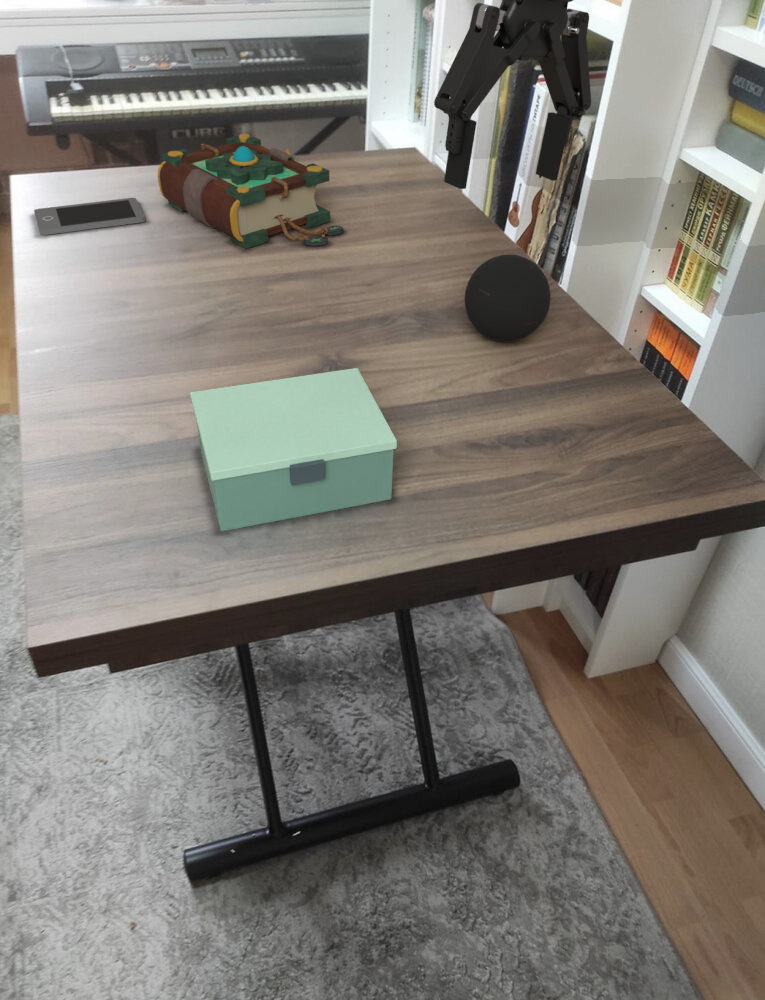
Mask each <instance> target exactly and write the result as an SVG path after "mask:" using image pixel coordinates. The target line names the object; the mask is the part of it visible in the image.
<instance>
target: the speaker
mask: <svg viewBox="0 0 765 1000" xmlns="http://www.w3.org/2000/svg"><path fill="white" fill-rule="evenodd" d="M549 283H550V282H549V281H548V278H547V276H546V274H545V273H544V272H543V270H542V269H541V268H540V267H539V266H538V264H536V263H535V262H534V261H532V260H531V259H528V258H527V257H525V256H521V255H518V254H501V255H496V256H494V257H491V258H489V259H487V260H486V261H484V262H483V263H481V264H480V265H479V266H478V267H477V268H476V269H475V270H474V271H473V273H472V274H471V276H470V277H469V279H468V282H467V284H466V287H465V292H464V308H465V313H466V315H467V317H468V321H470V323H471V325H472V326H473V327H474V329H475V330H476V331H477V332H478V333H480V334H481V335H482V336H484V337H486V338H488V339H490V340H492V341H495V342H501V343H510V342H511V343H512V342H516V341H517V342H518V341H520V340H523V339H525V338H527V337H529V336H530V335H532V334H533V333H535V332H536V331H537V330H538V329H539V328H540V326H541V325H542V324H543V323H544V321H545V320H546V318H547V316H548V313H549V309H550V307H551V298H552V297H551V296H552V295H551V289H550V284H549Z"/></svg>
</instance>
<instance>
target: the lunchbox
mask: <svg viewBox="0 0 765 1000" xmlns="http://www.w3.org/2000/svg"><path fill="white" fill-rule="evenodd" d="M189 397H190V400H191V405H192V409H193V413H194V417H195V421H196V427H197V433H198V441H199V447H200V453H201V457H202V462H203V466H204V471H205V474H206V478H207V482H208V486H209V489H210V493H211V497H212V501H213V506H214V509H215V510H214V511H215V514H216V519H217V522H218V527H219V530H220V532H226V531H232V530H237V529H243V528H247V527H253V526H259V525H263V524H269V523H274V522H278V521H279V522H280V521H284V520H290V519H294V518H300V517H306V516H311V515H316V514H322V513H327V512H332V511H337V510H343V509H348V508H352V507H358V506H359V507H360V506H364V505H369V504H373V503H379V502H385V501H388V500H389V501H391V500H392V497H393V496H392V494H393V493H392V492H393V471H394V452H395V451H394V450H396V449H397V448H398V441H397V440H398V439H397V438H396V436H395V435H394V432H393V431H392V429H391V427H390V426H389V424H388V422H387V420H386V418H385V416H384V414H383V412H382V411H381V409H380V406H379V405H378V403H377V401H376V399H375V397H374V396H373V394H372V392H371V391H370V388H369V386H368V385H367V382H366V380H365V379H364V377H363V375H362V374H361V371H360V370H359V368H358V367H353V368H347V369H339V370H332V371H327V372H319V373H313V374H305V375H298V376H291V377H286V378H279V379H273V380H265V381H258V382H251V383H244V384H238V385H237V384H236V385H231V386H223V387H218V388H210V389H205V390H197V391H191V392H189Z"/></svg>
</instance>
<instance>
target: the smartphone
mask: <svg viewBox="0 0 765 1000" xmlns="http://www.w3.org/2000/svg"><path fill="white" fill-rule="evenodd" d="M33 212H34V216H35V221H36V224H37V227H38V233H39V235H40V236H46V235H47V236H48V235H54V234H63V233H70V232H78V231H86V230H94V229H102V228H110V227H116V226H117V227H118V226H125V225H133V224H139V223H144V222H146V218H145V214H144V212H143V211H142V208H141V207H140V204H139V203H138V200H137V198H136V197H127V198H118V199H108V200H100V201H91V202H83V203H75V204H67V205H59V206H50V207H42V208H35V209H33Z"/></svg>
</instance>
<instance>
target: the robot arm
mask: <svg viewBox="0 0 765 1000" xmlns="http://www.w3.org/2000/svg"><path fill="white" fill-rule="evenodd" d="M573 1H574V0H501V3H500V6H499V7H498V6H495V5H490V4H486V3H482V2H477V3H476V4H475V5H474V7H473V10H472V13H471V14H472V15H471V19H470V24H469V28H468V30H467V33H466V35H465V36H464V39H463V41H462V42H461V45H460V47H459V49H458V50H457V53H456V55H455V57H454V59H453V61H452V63H451V65H450V67H449V69H448V72H447V74H446V76H445V77H444V79H443V81H442V84H441V85H440V88H439V90H438V92H437V94H436V96H435V97H434V101H433V103H434V107H435V108H436V109H438V110H440V111H442V112H443V113H444V114H446V115H447V117H448V122H447V128H446V129H447V130H446V136H445V144H444V146H445V151H447V160H446V164H445V173H444V179H443V182H444V183H446V184H447V185H451V186H452V187H455V188H457V189H459V190H466V189H467V185H468V178H469V173H470V172H469V171H470V166H471V159H472V154H473V149H474V141H475V135H476V129H477V123H478V121H476V120H474V119H472V116H473V115H474V114H475V113H476V111H477V110H478V108H479V107H480V106H481V104H482V103H483V101H484V100H485V99H486V97H487V96H488V95H489V93H490V92H491V91H492V89H493V88H494V86H495V85H496V84H497V83H498V81H499V80H500V78H501V77H502V76H503V74H504V73H505V72H506V71H507V69H508V68H509V67H510V66H513V65H515V64H516V63H517V61H522V62H523V61H524V62H526V61H529V60H533V61H536V62H538V64H539V67H540V69H541V72H542V75H543V79H544V82H545V84H546V87H547V90H548V93H549V96H550V99H551V102H552V105H553V108H554V111H555V112H547V117H546V120H545V121H546V122H545V126H544V131H543V135H542V141H541V146H540V151H539V155H538V159H537V165H536V170H535V175H537V176H540V177H541V178H545V179H547V180H549V181H552V182H553V181H558V177H559V172H560V169H561V164H562V160H563V155H564V150H565V148H566V147H567V145H568V143H569V139H570V134H571V130H572V126H573V121H574V118H575V119H581V118H582V117H583V115H584V111H588V110H589V109H590V108H591V105H592V94H591V80H590V66H589V65H590V64H589V54H588V53H589V51H588V42H587V41H588V40H587V39H588V38H587V37H588V36H587V35H588V31H589V23H590V14H589V12H587V11H582V10H578V9H574V8H568V5H569V3H571V2H573Z"/></svg>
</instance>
